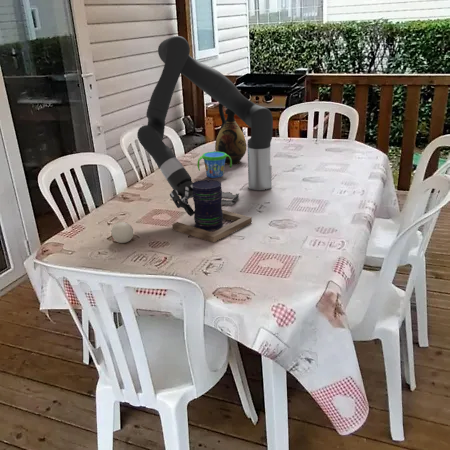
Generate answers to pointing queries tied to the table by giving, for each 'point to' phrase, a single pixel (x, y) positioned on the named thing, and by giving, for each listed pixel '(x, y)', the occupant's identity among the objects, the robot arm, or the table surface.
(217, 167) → the snack cup
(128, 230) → the white egg
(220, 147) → the ceramic jug
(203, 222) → the dark blue ridged cylinder
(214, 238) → the walnut bay
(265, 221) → the table surface
